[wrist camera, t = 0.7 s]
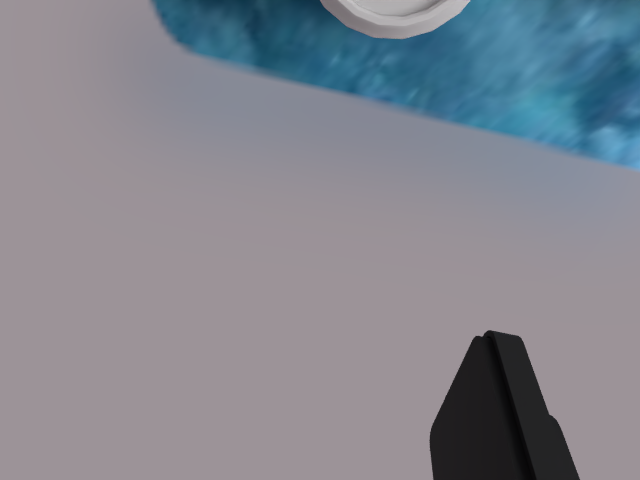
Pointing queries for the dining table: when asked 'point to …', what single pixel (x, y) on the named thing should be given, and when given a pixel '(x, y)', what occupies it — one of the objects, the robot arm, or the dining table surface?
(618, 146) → the dining table surface
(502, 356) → the robot arm
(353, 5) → the can
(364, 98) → the dining table surface
